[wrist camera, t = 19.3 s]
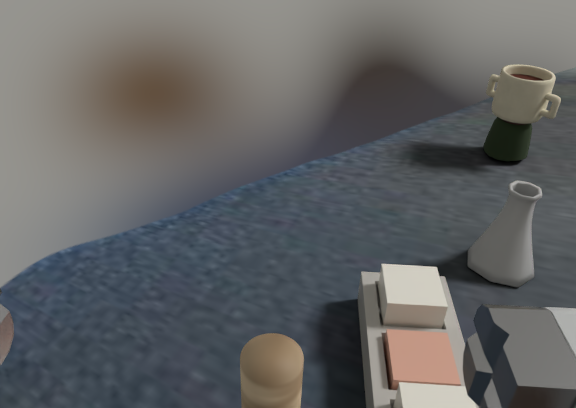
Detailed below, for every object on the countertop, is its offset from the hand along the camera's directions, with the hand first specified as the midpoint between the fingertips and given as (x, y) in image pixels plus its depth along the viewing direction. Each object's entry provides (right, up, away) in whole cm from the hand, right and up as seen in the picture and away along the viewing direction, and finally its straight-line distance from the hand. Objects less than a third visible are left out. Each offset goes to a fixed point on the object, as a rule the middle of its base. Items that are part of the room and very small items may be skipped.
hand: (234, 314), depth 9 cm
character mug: (+34, +9, +69) cm, 77 cm away
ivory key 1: (+12, -7, +37) cm, 40 cm away
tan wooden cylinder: (0, -18, +28) cm, 33 cm away
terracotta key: (+11, -12, +33) cm, 37 cm away
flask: (+24, -5, +48) cm, 54 cm away
